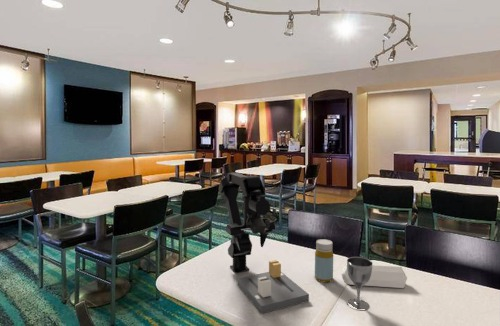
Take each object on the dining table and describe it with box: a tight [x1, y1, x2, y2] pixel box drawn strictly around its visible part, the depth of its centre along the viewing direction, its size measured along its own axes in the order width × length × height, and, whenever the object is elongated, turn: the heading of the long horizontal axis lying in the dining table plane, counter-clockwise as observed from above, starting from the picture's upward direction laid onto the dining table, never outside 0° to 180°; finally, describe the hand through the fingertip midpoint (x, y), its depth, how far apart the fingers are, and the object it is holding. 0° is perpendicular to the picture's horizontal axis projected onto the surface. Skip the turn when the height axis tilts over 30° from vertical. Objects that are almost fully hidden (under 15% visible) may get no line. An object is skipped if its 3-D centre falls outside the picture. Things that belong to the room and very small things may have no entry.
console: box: [236, 271, 310, 314], centre depth 112 cm, size 21×18×3 cm
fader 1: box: [258, 276, 271, 297], centre depth 106 cm, size 4×3×5 cm
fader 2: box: [268, 259, 282, 278], centre depth 120 cm, size 4×3×5 cm
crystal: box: [341, 264, 408, 289], centre depth 120 cm, size 7×7×24 cm
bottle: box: [314, 238, 334, 283], centre depth 122 cm, size 7×7×15 cm
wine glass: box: [346, 256, 373, 311], centre depth 104 cm, size 8×8×15 cm
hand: (251, 248), depth 120 cm, fingers open, 9 cm apart
